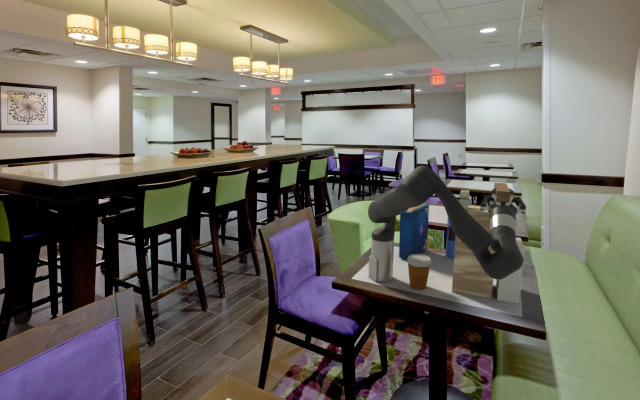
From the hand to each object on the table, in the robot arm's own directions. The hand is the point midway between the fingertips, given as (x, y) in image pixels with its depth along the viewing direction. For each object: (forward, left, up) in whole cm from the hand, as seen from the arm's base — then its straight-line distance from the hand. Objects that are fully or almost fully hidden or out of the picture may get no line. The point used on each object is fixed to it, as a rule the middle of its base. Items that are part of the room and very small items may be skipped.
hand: (502, 190), depth 127 cm
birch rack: (+2, +12, -41) cm, 43 cm away
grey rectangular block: (+11, +3, -41) cm, 43 cm away
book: (+4, +54, -41) cm, 68 cm away
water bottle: (+22, +44, -41) cm, 65 cm away
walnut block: (+4, +4, -4) cm, 7 cm away
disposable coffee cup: (-17, +21, -41) cm, 49 cm away
